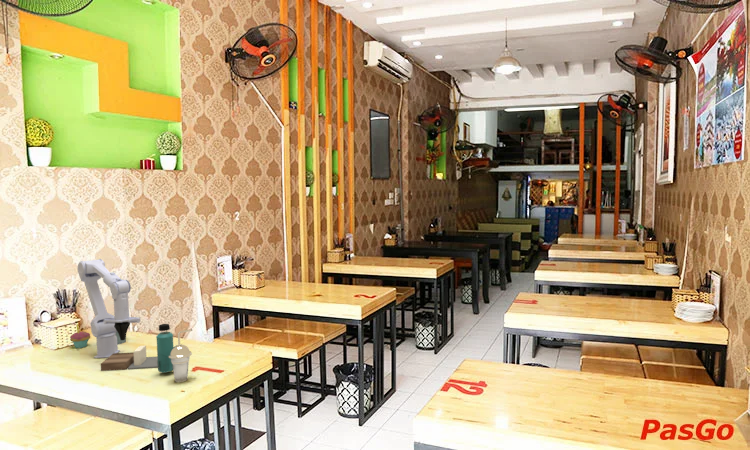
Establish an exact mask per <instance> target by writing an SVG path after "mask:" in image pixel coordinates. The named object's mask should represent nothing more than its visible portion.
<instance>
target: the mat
mask: <svg viewBox="0 0 750 450" xmlns="http://www.w3.org/2000/svg"><path fill="white" fill-rule="evenodd" d="M146 358H147V359H146V360H145V361H144V362H143V363H142V364H141V365H134V363H133V364H131V365H130V366H129V367H128V369H127V370H139V369H141V370H142V369H144V370H145V369H158V365H157V363H158V362H157V360H158V357H157V356H146Z"/></svg>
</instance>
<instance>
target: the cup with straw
mask: <svg viewBox="0 0 750 450" xmlns="http://www.w3.org/2000/svg"><path fill="white" fill-rule="evenodd" d="M187 332H193V329H192V328H191V329H185V330H179V331H178V333H177V344H175V346H173V348H172V350H171V352H170V354H169V356H168V357H169V358H171V363H172V367H173V371H172V372H173V377H174V382H175V383H183V382H186V381H188V377H189V376H188V375H189V363H190V359H191V358H190V357H192V351H191V350H190V349H189V347H188V346H186V345H185V344H181V334H182V333H187Z"/></svg>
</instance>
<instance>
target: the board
mask: <svg viewBox="0 0 750 450" xmlns="http://www.w3.org/2000/svg"><path fill="white" fill-rule="evenodd" d="M133 363H134V351H132V352H118V353H113V354H112V355H111V356H110V357H106V359H105V360H103V361H102V362H100V372H104V371H105V372H107V371H125V370H126V371H127V370H129V369H128V367H129V366H130V365H131V364H133Z"/></svg>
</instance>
